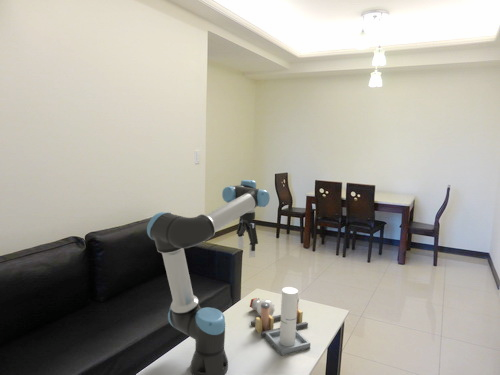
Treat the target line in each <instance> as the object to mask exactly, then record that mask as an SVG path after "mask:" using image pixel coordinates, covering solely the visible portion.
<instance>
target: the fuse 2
mask: <svg viewBox="0 0 500 375" xmlns="http://www.w3.org/2000/svg"><path fill="white" fill-rule="evenodd" d="M299 300H300V299H299V298H298V300H297V317H296V324H298V322H297V320H298V309H299V302H300V301H299Z"/></svg>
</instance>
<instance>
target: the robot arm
mask: <svg viewBox="0 0 500 375" xmlns="http://www.w3.org/2000/svg"><path fill="white" fill-rule="evenodd" d="M221 194H222V196H221V197H222V199H223V201H224V202H225V204H224V205H221V206H220V207H217V208H216V209H214V210H212V211H211V212H209V213H207V214H199V215H198V216H195V217H193V216H192V217H187V216H181V215H177V214H173V213H171V212H164V211H162V212H158V213H156V214H154V215H153V216H152V217H151V218H150V220H149V222H148V223H147V227H146V234H147V236H148V237H149V238H150V239H151V240H152V241H154V243H155V247H156V250H157V251H156V252H158V253H160V254H161V255H162V259H163V265H164V268H165V271H166V276H167V281H168V285H169V288H170V289H169V290H170V293H171V298H172V301H171V304H170V307H169V308H168V309H169V311H168V313H167V320H168V322H169V324H170V326H172V327H173V328H174V329H175V330H177V331H179V332H181V333H183V334H184V335H187V336H189V337H190V338H191V339H193V340H194V342H195V350H194V353H193V356H192V359H191V361H190V371H191V373H192V375H225V374H226V373H227V372H228V369H229V359H228V356H227V354H226V351H225V338H226V321H225V320H226V319H225V315H224V313H223V312H222V311H221V310H220V309H217V308H215V307H210V306H208V307H207V306H206V307H201V306H200V304H199V298H198V297H197V296H196V295H194V291H193V288H192V286H193V285H192V281H191V277H190V274H189V273H190V272H189V268H188V262H187V258H186V253H185V249H189V248H192V247H195V246H197V245H200V244H203V243H204V242H206V241H208V240H209V239H211V238H213V237H214V236H215V233H216V232H218V231H220V230H221V229H222V228H224V227H226V226H227V225H229V224H230V223H232V222H234V221H236V220H237V219H238V218H239V221H238V222H239V223H238V224H237V230H236V235H237V236H238V238H237V239H238V240H237V243H238V244H237V250H244V245H245V243H244V238H245V237H244V236H245V235H244V234H245V233H247V235H248V240H249V242H250V243H249V244H248V245H249V252H248V253H249V254H248V256H249V257H248V258H255V257H256V245H258V244H259V241H258V234H257V229H256V223H253V220H255V219H256V212H255V211H256V208H257V207H260V208H265V207H267V206H268V205H269V203H270V193H269V192H268V191H267V190H265V189H262V188H257V181H255V180H253V179H242V180H241V181H240V184H238V185H229V186H225V187H224V188H223V190H222V193H221Z"/></svg>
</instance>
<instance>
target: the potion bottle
mask: <svg viewBox="0 0 500 375" xmlns="http://www.w3.org/2000/svg"><path fill="white" fill-rule="evenodd" d="M262 303H269V304H270V307H269V315H271V316H272V317H273V315H274V313H275V311H276V310H275V309H276V308H275V304H274V303H273V301H271V300H270V299H267V298H266V299H260V298H259V297H258V298H257V297H255V298H252V299H251V300H250V304H249V307H250V308H251V309H253V310H254V311H257V314H258V315H259V317H261V304H262Z"/></svg>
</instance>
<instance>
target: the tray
mask: <svg viewBox="0 0 500 375" xmlns="http://www.w3.org/2000/svg"><path fill="white" fill-rule="evenodd" d="M265 339H266V340H267V341H268V342H269V344H271V346H272V347H273V349H275V351H277V352H278V354H279V355H280V356H281V357H283V356H286V355H291V354H294V353H297V352H301V351H305V350H308V349H311V342H310V341H309V340H308V339H307V338H306V337H305V336H304V335H302V334H301V333H300V332H299V331H298V329H297V330H296V335H295V344H294V345H292V346H284V345H282V344H281V343H280V330H276V331H272V332H268V333H266V337H265Z"/></svg>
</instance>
